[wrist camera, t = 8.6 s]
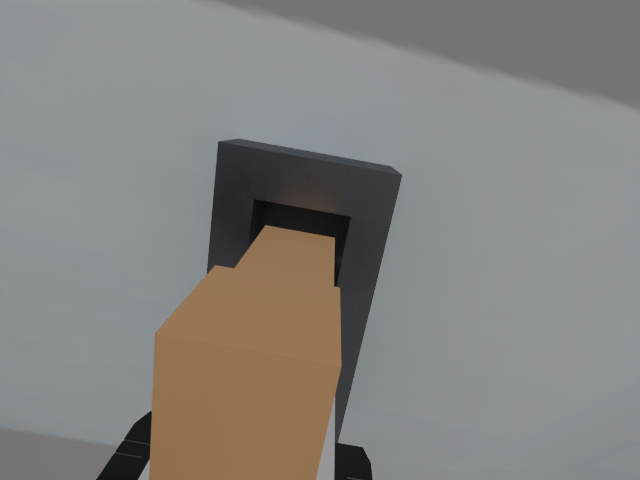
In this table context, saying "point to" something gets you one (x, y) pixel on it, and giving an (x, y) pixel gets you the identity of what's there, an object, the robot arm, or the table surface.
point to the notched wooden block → (250, 366)
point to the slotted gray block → (317, 194)
